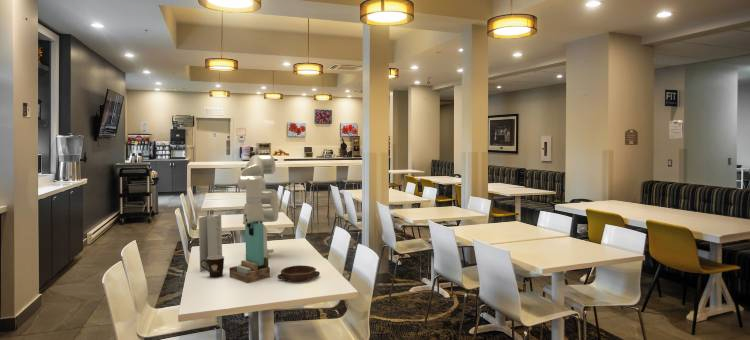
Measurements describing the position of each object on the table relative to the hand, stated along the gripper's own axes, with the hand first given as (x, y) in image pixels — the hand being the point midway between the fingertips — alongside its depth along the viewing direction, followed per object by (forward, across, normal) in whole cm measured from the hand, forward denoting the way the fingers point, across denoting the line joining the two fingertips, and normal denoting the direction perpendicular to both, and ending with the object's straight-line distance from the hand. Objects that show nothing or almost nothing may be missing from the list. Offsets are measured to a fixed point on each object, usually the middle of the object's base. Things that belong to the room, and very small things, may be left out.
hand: (254, 234), depth 249 cm
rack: (+22, +4, 0) cm, 22 cm away
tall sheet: (+16, 0, 0) cm, 16 cm away
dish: (+23, -11, +22) cm, 34 cm away
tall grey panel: (+23, +8, -31) cm, 39 cm away
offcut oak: (+22, +4, 0) cm, 23 cm away
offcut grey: (+22, +7, 0) cm, 23 cm away
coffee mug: (+23, +15, -17) cm, 32 cm away
